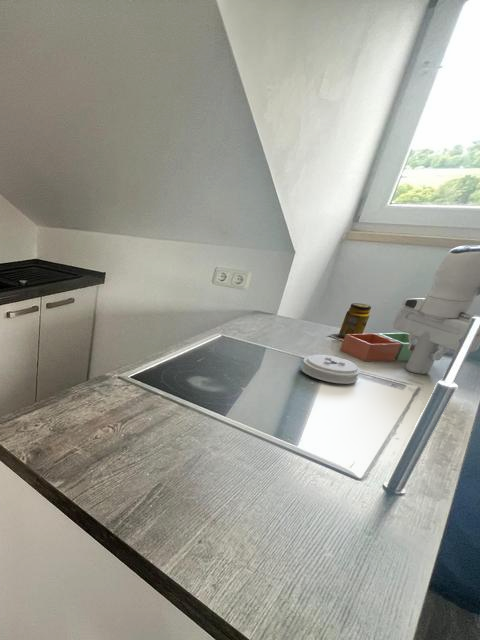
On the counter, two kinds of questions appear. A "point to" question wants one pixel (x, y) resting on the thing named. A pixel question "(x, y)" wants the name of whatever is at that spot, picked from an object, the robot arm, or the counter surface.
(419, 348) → the beverage can
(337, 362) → the lid
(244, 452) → the counter surface
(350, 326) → the condiment
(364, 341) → the terracotta bin
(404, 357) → the green bin
